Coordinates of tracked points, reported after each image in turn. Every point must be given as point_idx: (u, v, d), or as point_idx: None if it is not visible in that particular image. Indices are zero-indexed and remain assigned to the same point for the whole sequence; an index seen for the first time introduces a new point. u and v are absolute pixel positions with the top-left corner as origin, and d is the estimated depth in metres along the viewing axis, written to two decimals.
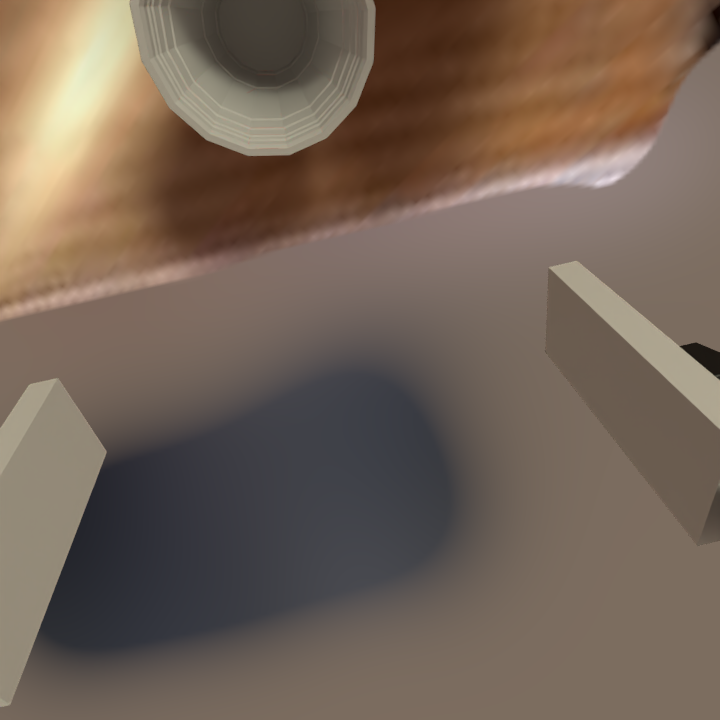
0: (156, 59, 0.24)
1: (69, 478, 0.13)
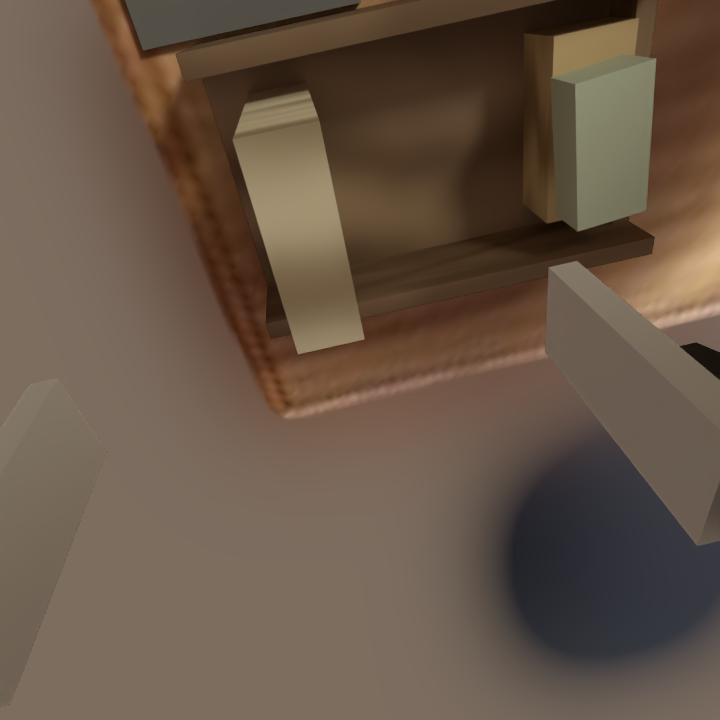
0: None
1: (69, 478, 0.13)
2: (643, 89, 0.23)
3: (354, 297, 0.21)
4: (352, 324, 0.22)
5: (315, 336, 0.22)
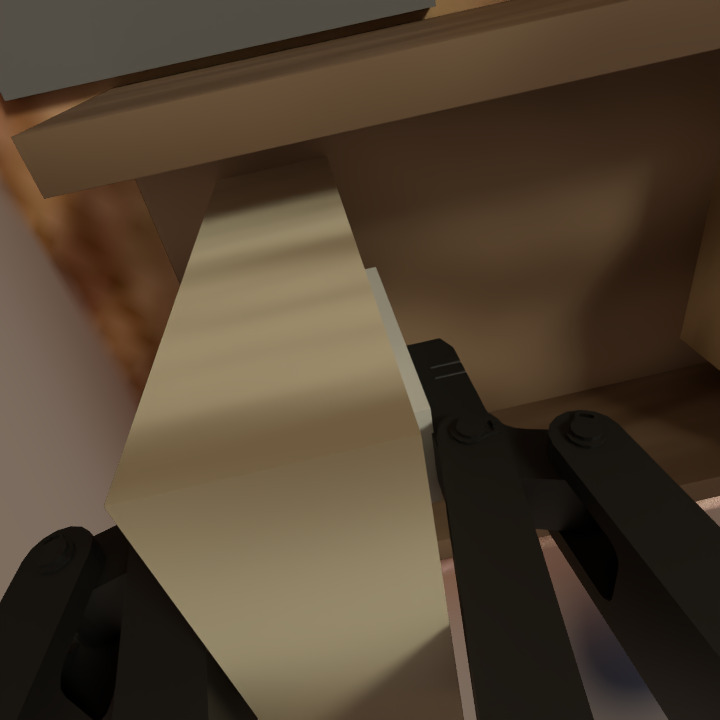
0: None
1: None
2: None
3: None
4: None
5: None
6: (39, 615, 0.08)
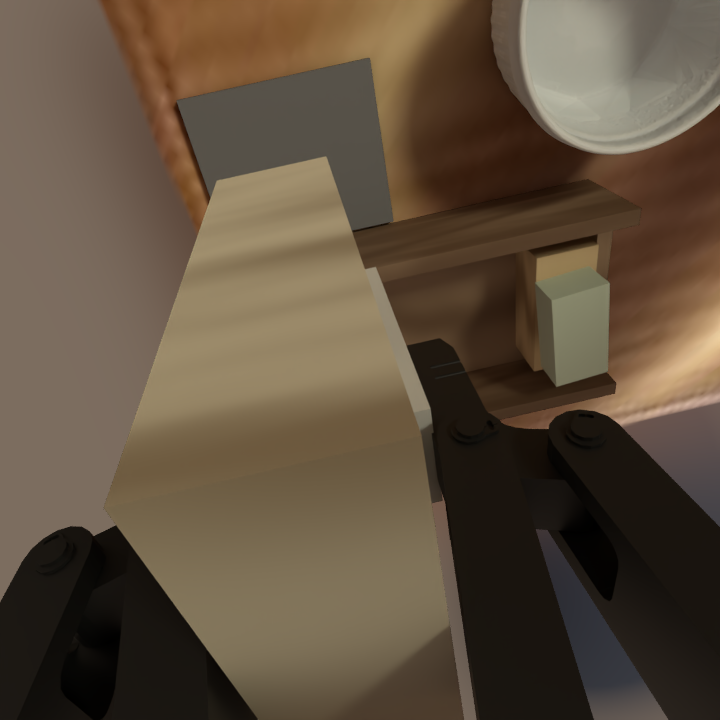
0: None
1: None
2: (601, 300, 0.32)
3: None
4: None
5: None
6: (39, 615, 0.08)
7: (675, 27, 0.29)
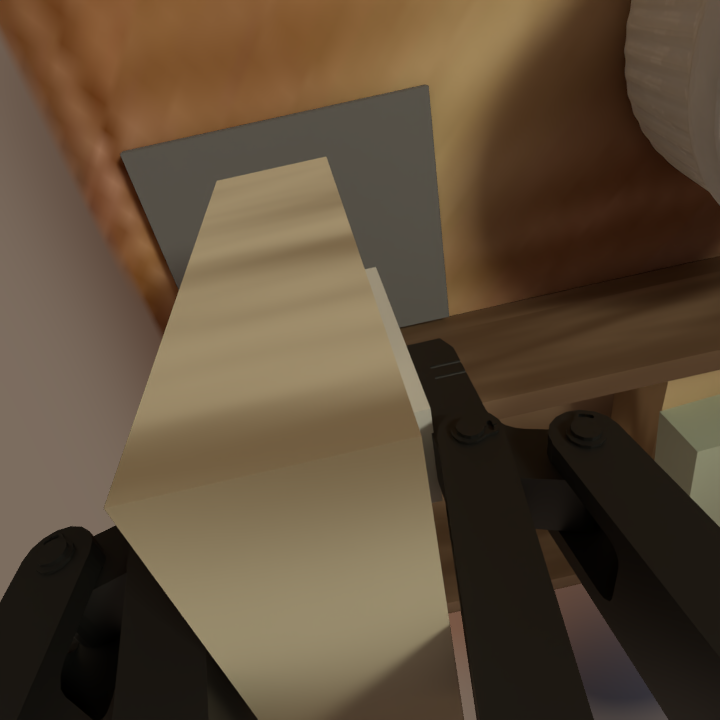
0: None
1: None
2: None
3: None
4: None
5: None
6: (39, 615, 0.08)
7: None
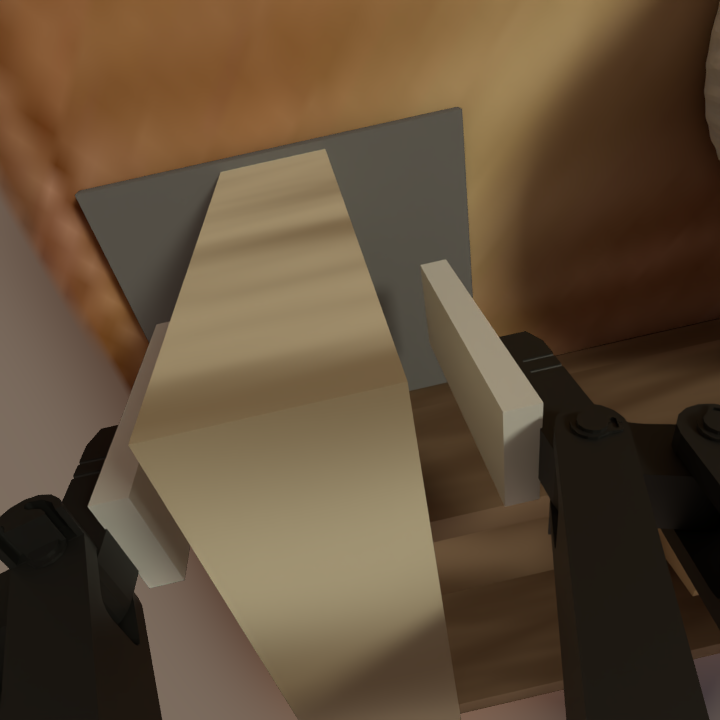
0: None
1: None
2: None
3: (450, 674, 0.09)
4: (439, 706, 0.10)
5: None
6: None
7: None
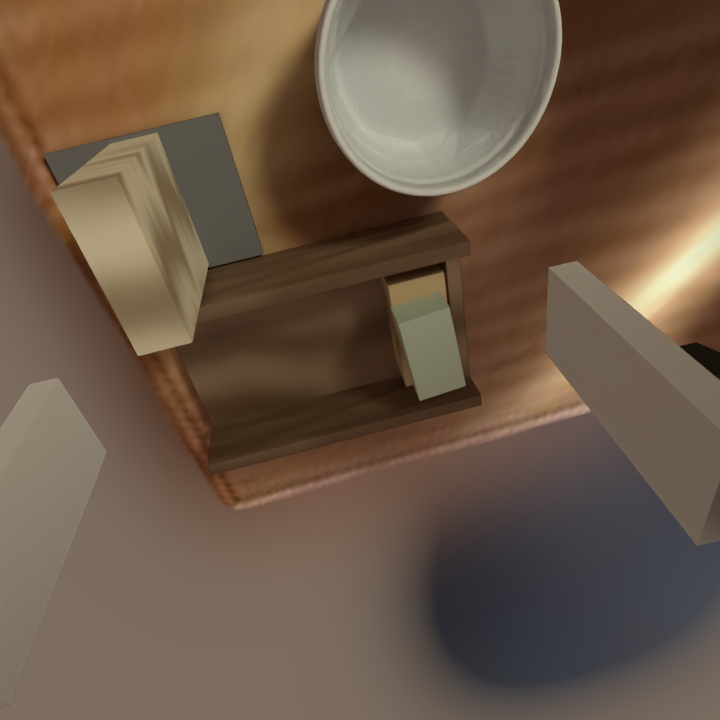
0: None
1: (69, 478, 0.13)
2: (445, 322, 0.35)
3: (175, 309, 0.27)
4: (179, 330, 0.27)
5: (149, 341, 0.27)
6: None
7: (490, 80, 0.32)
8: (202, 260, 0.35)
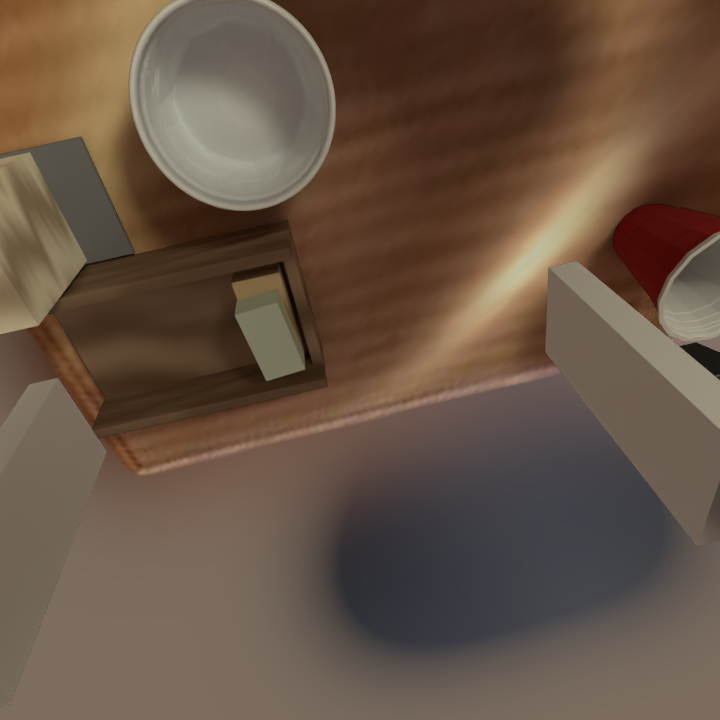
0: None
1: (69, 478, 0.13)
2: (276, 315, 0.42)
3: (20, 298, 0.34)
4: (26, 315, 0.34)
5: (3, 323, 0.35)
6: None
7: (307, 114, 0.39)
8: (76, 257, 0.42)
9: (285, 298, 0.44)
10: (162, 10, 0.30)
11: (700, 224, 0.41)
